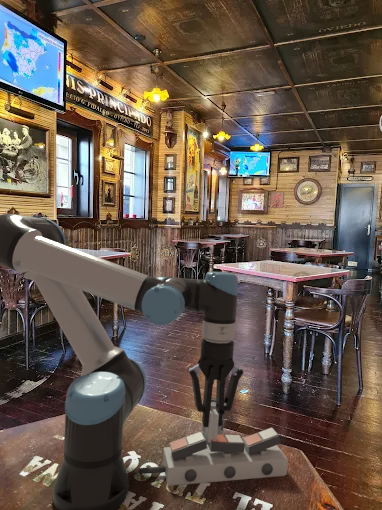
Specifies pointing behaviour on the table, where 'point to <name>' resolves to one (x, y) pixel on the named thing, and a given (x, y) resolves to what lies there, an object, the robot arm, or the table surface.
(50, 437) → the table surface
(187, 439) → the rocker
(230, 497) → the table surface
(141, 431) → the table surface
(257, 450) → the rocker
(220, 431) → the energy drink
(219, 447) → the rocker
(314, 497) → the table surface
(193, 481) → the power strip
